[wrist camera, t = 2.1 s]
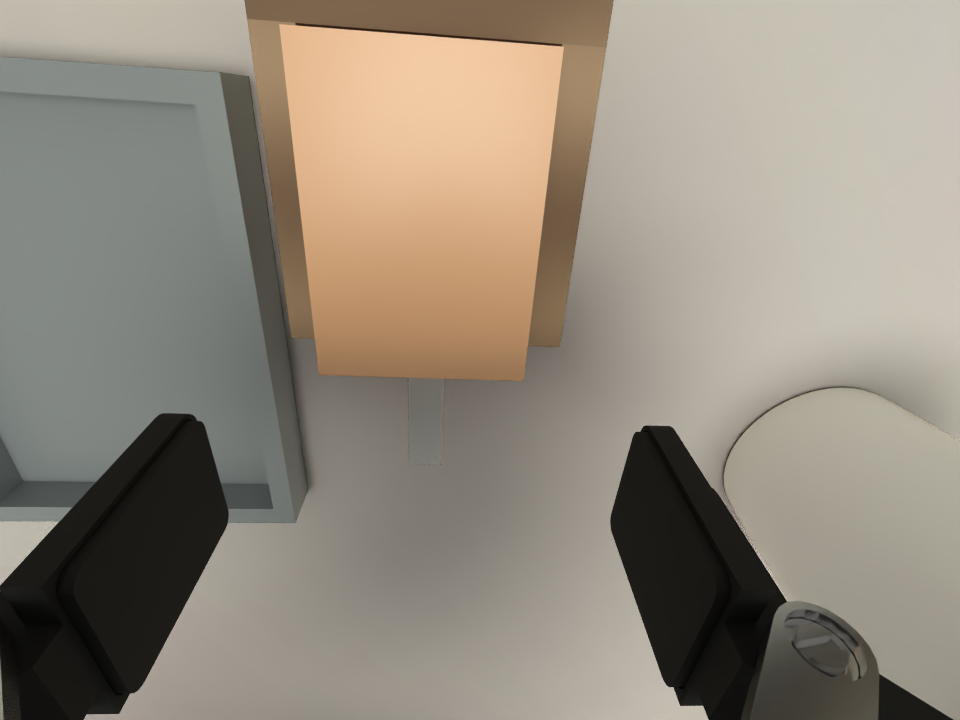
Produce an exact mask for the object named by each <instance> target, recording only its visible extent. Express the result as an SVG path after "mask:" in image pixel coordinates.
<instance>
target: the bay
mask: <svg viewBox="0 0 960 720" xmlns="http://www.w3.org/2000/svg"><path fill="white" fill-rule="evenodd" d="M613 1H614V0H245V6H246V14H247V21H248V28H249V35H250V43H251V50H252V57H253V64H254V71H255V79H256V86H257V93H258V100H259V108H260V115H261V122H262V129H263V136H264V144H265V151H266V158H267V165H268V173H269V180H270V187H271V194H272V201H273V209H274V216H275V223H276V230H277V238H278V245H279V252H280V259H281V266H282V274H283V281H284V288H285V295H286V303H287V310H288V317H289V324H290V331H291V338H309V339H315V336H314V327H313V318H312V310H311V301H310V292H309V283H308V274H307V265H306V257H305V248H304V239H303V230H302V221H301V212H300V204H299V195H298V186H297V177H296V168H295V159H294V151H293V142H292V133H291V124H290V115H289V106H288V98H287V89H286V80H285V71H284V62H283V53H282V45H281V36H280V27H279V24H283V25H296V26H308V27H321V28H334V29H346V30H359V31H372V32H384V33H397V34H410V35H422V36H435V37H448V38H460V39H473V40H485V41H498V42H511V43H523V44H536V45H549V46H561V47H564V50H563V58H562V67H561V75H560V83H559V92H558V100H557V108H556V117H555V125H554V133H553V141H552V150H551V158H550V166H549V175H548V183H547V191H546V199H545V208H544V216H543V224H542V233H541V241H540V249H539V257H538V266H537V274H536V282H535V291H534V299H533V307H532V315H531V324H530V332H529V340H528V346H547V347H560V341H561V335H562V328H563V322H564V315H565V309H566V303H567V296H568V290H569V283H570V277H571V270H572V264H573V258H574V251H575V245H576V238H577V232H578V225H579V219H580V213H581V206H582V200H583V193H584V187H585V181H586V174H587V168H588V161H589V155H590V148H591V142H592V136H593V129H594V123H595V116H596V110H597V103H598V97H599V91H600V84H601V78H602V71H603V65H604V59H605V52H606V46H607V39H608V33H609V26H610V20H611V14H612V7H613Z"/></svg>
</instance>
